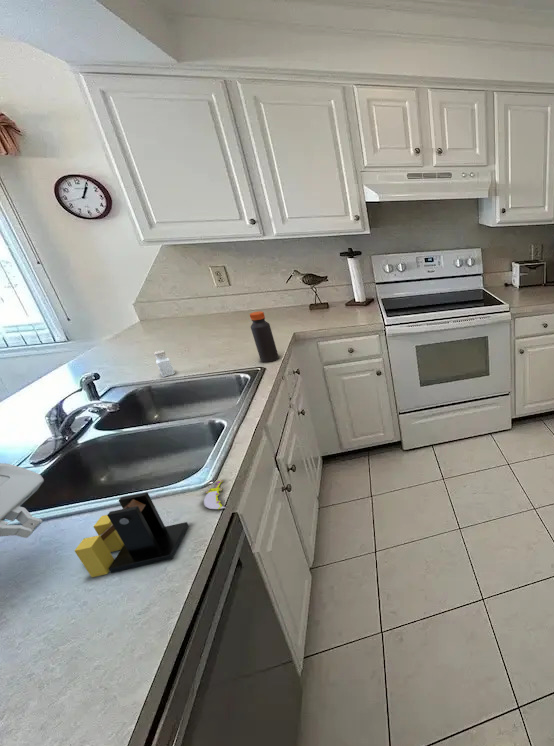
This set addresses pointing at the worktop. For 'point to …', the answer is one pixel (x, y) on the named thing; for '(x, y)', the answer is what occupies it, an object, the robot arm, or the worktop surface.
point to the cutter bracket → (143, 534)
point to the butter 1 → (113, 539)
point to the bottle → (263, 337)
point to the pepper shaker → (164, 363)
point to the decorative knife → (213, 497)
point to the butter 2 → (95, 556)
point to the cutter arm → (129, 505)
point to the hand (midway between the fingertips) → (35, 529)
